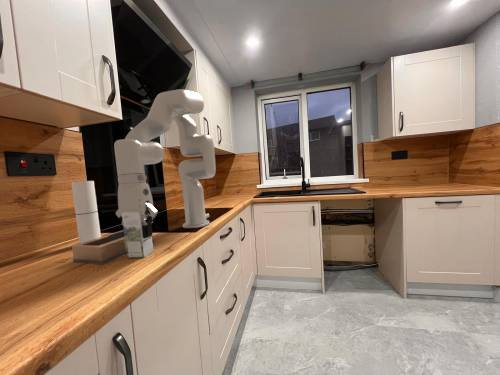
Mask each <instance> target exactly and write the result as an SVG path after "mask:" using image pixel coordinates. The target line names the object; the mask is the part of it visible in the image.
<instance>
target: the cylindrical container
mask: <svg viewBox="0 0 500 375" xmlns="http://www.w3.org/2000/svg"><path fill="white" fill-rule="evenodd" d="M71 190H72V191H71V192H72V199H73V206H74V213H75V221H76V229H77V237H78V244H80V243H83V242H87V241H90V240H93V239H96V238H99V237H102V236H101V228H100V227H101V226H100V219H99V213H98V212H99V211H98V204H97V195H96V188H95V181H94V180H85V181H72V182H71Z"/></svg>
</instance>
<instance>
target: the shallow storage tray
mask: <svg viewBox="0 0 500 375" xmlns="http://www.w3.org/2000/svg"><path fill="white" fill-rule="evenodd" d="M152 243H154V238H153V236H152ZM71 249H72V257H73V258H72V262H73V263H84V264H97V265H98V264H99V265H105V264H107V263H109V262H112V261H114V260H117V259H118V258H120V257H121V258H122V257H123V256H125V255H126V256H127V250H126V242H125V234H124V229H122V230H120V231H117V232H113V233H109V234H107V235H103V236H101V237H99V238H96V239H93V240H90V241H87V242H83V243H80V244H79V243H78V244H74V245H72V246H71Z"/></svg>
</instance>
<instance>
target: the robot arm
mask: <svg viewBox="0 0 500 375" xmlns="http://www.w3.org/2000/svg"><path fill="white" fill-rule="evenodd" d="M204 109H205V103H204V99H203V97H202V96H201V95H200V94H199V92H194V91H192V90H189V89H183V88H181V89H174V90H168V91H163V92H160V93H158V94H157V95H156V97H155V98H154V101H153V102H152V104H151V108H150V110H149V111H148V114H147V116H146V117H145V118H144V119H143V120H141V121H140V122H139V123H138V124H137V125H136V126H134V127H133V128H132V129H131V130H130V131H129V132H128V133H127V135H126V136H125V138H124V139H117V140H115V142H114V146H113V147H114V155H115V156H114V157H115V163H116V172H117V173H116V175H117V182H118V189H117V206H118V209H117V210H116V211H115V216H117V217H118V219H119V221H120V222H121V225H122V226H123V219H122V212H139V215H140V217H141V221H142V223H143V225H142V232H143V238H148V237H150V236H152V237H153V226H152V224H153V223H154V219H156V216H157V214H158V210H157V209H156V208H155V206H154V200H153V195H152V192H151V191H152V190H151V188H150V185H149V183H147V181H146V180H147V178H148V177H147V174H145V173H146V172H145V170H146V169H145V165H156V164H158V163H161V162H162V161H163V160H164V158H165V155H166V154H165V148H164V147H163V146H162V145H161V144H160V143H159V142H157V141H151V140H153V139H156V138H158V137H160V136H162V135H164V134H166V133H167V132H168V131H169V130H170V128H171V125H172V123H173V120H174V122H175V124H176V125H177V129H178V137H179V138H178V139H179V151H180V154H181V155H182V156H184V157H187V158H190V157H201V156H202V158H194V159H193V158H192V159H191V158H190V159H186V160H183V161H181V162H180V163H179V165H178V168H177V169H178V175H179V178H180V182H181V187H182V199H183V208H184V215H185V216H184V217H185V222H184V223H183V224H182V228H184V229H196V228H203V227H206V226H209V225H210V220H208V218H210V214H209V213H206V209H205V208H206V207H205V197H204V196H205V195H204V187H203V185H202V183H201V182H200V181H199V180H203V179H212V178H214V176H215V175H216V170H217V168H216V164H217V163H216V156H215V155H216V153H215V144H214V140H213V139H212V137H211V136H210V135H209V134H198V126H197V124H196V123H195V121H194V120H193V119H192V118H191V117H190V115H197V114H201V113H202V112H203V111H204ZM145 217H146V218H147V219H145Z"/></svg>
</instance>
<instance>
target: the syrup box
mask: <svg viewBox="0 0 500 375" xmlns="http://www.w3.org/2000/svg"><path fill="white" fill-rule="evenodd" d="M122 219H123V225H122V226H123V227H122V228H123V230H124V234H125V242H126V250H127V254H126V256H127V259H136V258H140V259H141V258H146V257H148V256H149V255H151V254H152V253H154V250H155V249H154V244H153V243H154V242H153V243H152V237H153V235H152V236H150V237H148V238H143V232H142V225H143V223H142V221H141V217H140V215H139V212H122ZM145 219H147V218H146V217H145Z"/></svg>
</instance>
